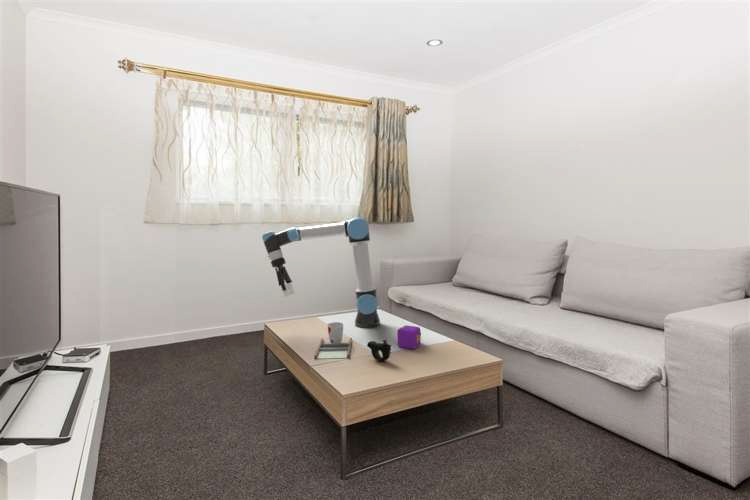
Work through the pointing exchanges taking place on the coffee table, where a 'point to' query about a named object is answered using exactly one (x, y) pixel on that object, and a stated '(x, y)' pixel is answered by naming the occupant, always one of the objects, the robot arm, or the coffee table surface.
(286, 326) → the coffee table surface
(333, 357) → the pad
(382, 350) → the controller
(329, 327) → the cup
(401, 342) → the toy camera
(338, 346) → the tray
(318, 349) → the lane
